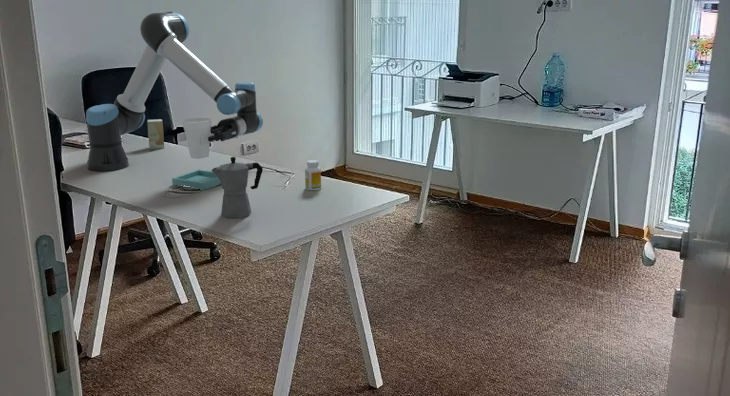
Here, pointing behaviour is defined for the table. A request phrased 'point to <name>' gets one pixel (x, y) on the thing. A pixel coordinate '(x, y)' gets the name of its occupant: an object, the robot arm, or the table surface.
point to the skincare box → (155, 134)
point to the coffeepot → (236, 187)
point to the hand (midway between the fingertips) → (189, 139)
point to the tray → (197, 179)
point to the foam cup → (197, 136)
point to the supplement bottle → (313, 175)
